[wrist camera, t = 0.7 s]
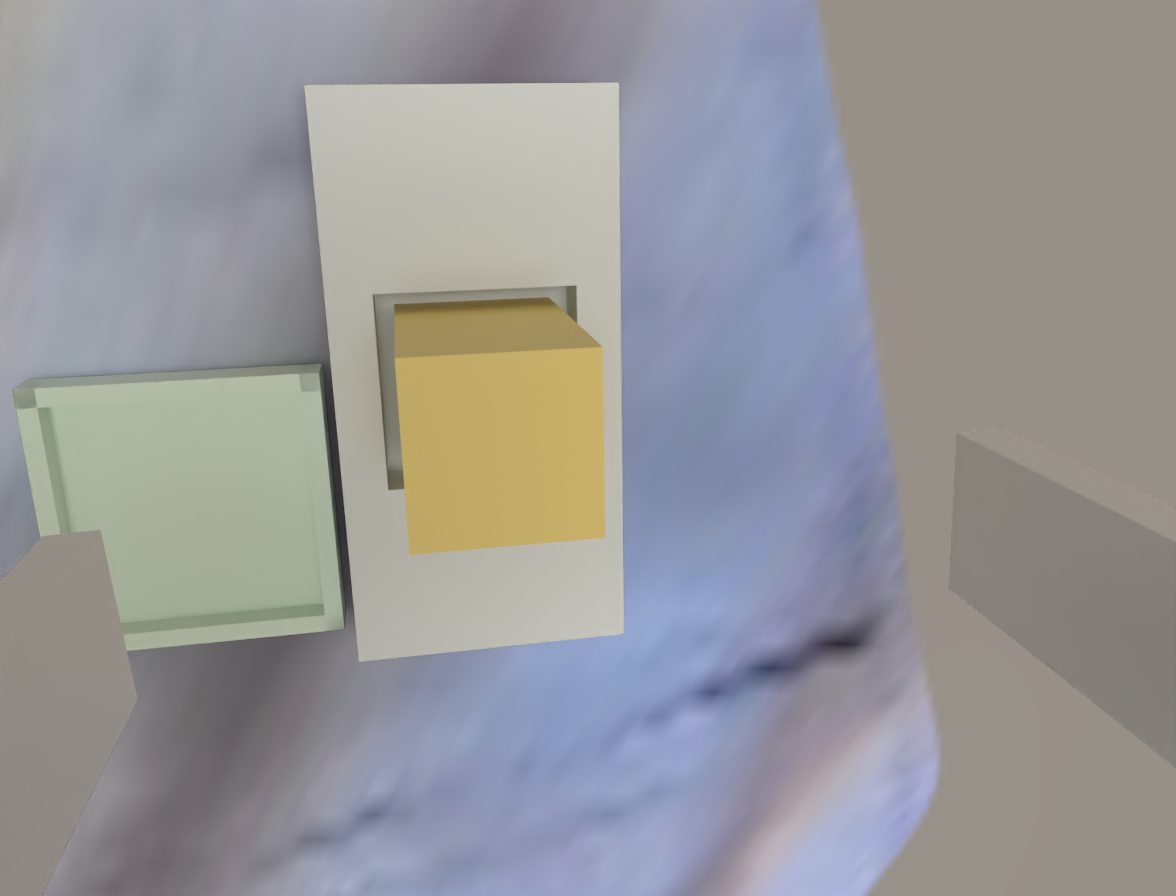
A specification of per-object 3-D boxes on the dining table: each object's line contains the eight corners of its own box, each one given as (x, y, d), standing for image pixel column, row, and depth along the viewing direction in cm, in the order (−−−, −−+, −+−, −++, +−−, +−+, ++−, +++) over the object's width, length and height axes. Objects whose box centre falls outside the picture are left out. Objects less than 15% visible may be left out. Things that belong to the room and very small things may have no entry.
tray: (76, 636, 34) (63, 657, 33) (29, 379, 31) (12, 389, 30) (346, 610, 35) (344, 629, 34) (322, 363, 33) (319, 372, 31)
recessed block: (361, 621, 36) (359, 661, 33) (312, 91, 31) (304, 85, 28) (606, 597, 37) (623, 634, 34) (599, 89, 32) (618, 82, 29)
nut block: (405, 453, 33) (409, 555, 25) (394, 304, 32) (394, 357, 23) (552, 442, 34) (605, 537, 26) (548, 297, 33) (602, 347, 24)
